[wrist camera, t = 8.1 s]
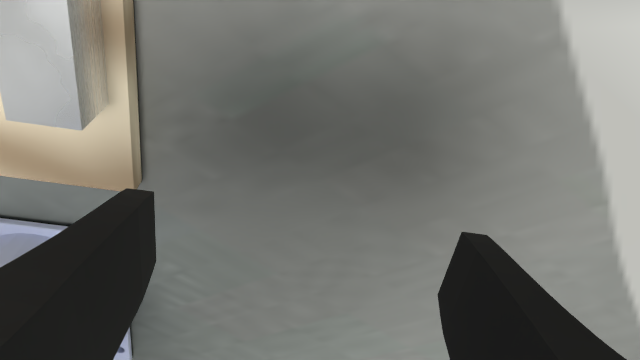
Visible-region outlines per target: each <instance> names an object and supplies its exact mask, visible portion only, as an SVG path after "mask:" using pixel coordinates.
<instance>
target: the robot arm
mask: <svg viewBox="0 0 640 360" xmlns="http://www.w3.org/2000/svg"><path fill="white" fill-rule="evenodd" d="M155 263H156V241H155V211H154V192H152V191H145V190H137V189H129V188H126V189H125V190H123V191H121V192H120V193H118V194H117V195H115V196H114V197H112V198H111V199H109V200H108V201H106V202H105V203H103V204H102V205H100V206H99V207H98V208H96V209H95V210H93V211H92V212H90V213H89V214H87V215H86V216H84V217H83V218H81V219H80V220H78V221H77V222H75V223H74V224H72V225H70V226H69V227H68V226H60V225H52V224H44V223H35V222H27V221H19V220H11V219H3V218H0V360H132V350H131V337H130V325H131V323H132V321H133V319H134V317H135V315H136V313H137V311H138V309H139V307H140V304H141V302H142V300H143V298H144V295H145V292H146V289H147V287H148V284H149V281H150V278H151V275H152V272H153V269H154V266H155ZM438 300H439V308H440V316H441V323H442V329H443V335H444V339H445V342H446V346H447V350H448V353H449V357H450V360H626V359H625V358H624V357H622V356H621V355H620V354H618V353H617V352H616V351H614V350H613V349H612V348H610V347H609V346H608V345H607V344H605V343H604V342H603V341H602V340H601V339H599V338H598V337H597V336H596V335H594V334H593V333H592V332H591V331H590V330H589V329H587V328H586V327H585V326H584V325H583V324H582V323H580V322H579V321H578V320H577V319H576V318H575V317H574V316H572V315H571V314H570V313H569V312H568V311H567V310H566V309H565V308H563V307H562V306H561V305H560V304H559V303H558V302H557V301H556V300H555V299H554V298H553V297H551V296H550V295H549V294H548V293H547V292H546V291H545V290H544V289H543V288H542V287H541V286H540V285H539V284H538V283H537V282H536V281H535V280H534V279H533V278H532V277H531V276H530V275H528V274H527V273H526V272H525V271H524V270H523V269H522V268H521V267H520V266H519V265H518V264H517V263H516V262H515V261H514V260H513V259H512V258H511V257H510V256H509V255H508V254H507V253H506V252H505V251H504V250H503V249H502V248H501V247H500V246H499V245H498V244H496V243H495V242H494V241H493V240H492V239H491V238H490V237H488V236H487V235H482V234H475V233H467V232H462V233H461V235H460V238H459V241H458V243H457V246H456V248H455V251H454V254H453V256H452V259H451V261H450V264H449V267H448V269H447V272H446V274H445V277H444V280H443V282H442V285H441V287H440V290H439V293H438Z"/></svg>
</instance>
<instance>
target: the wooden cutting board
mask: <svg viewBox="0 0 640 360" xmlns="http://www.w3.org/2000/svg"><path fill="white" fill-rule="evenodd" d="M0 176H6V177H14V178H22V179H29V180H37V181H45V182H53V183H60V184H68V185H76V186H83V187H91V188H99V189H107V190H114V191H123V190H125V189H126V188H129V189H137V188H138V186H139V184H140V183H141V181H142V176H141V155H140V135H139V114H138V93H137V72H136V51H135V31H134V10H133V0H0Z"/></svg>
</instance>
